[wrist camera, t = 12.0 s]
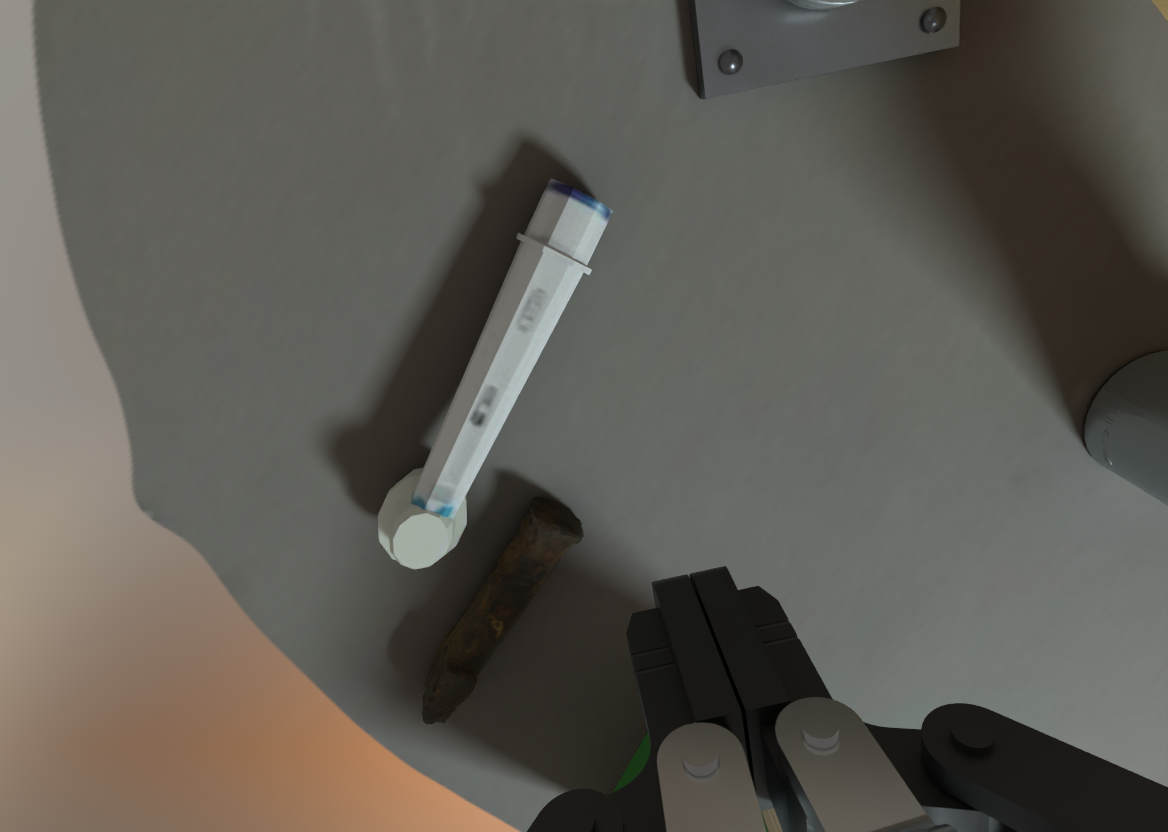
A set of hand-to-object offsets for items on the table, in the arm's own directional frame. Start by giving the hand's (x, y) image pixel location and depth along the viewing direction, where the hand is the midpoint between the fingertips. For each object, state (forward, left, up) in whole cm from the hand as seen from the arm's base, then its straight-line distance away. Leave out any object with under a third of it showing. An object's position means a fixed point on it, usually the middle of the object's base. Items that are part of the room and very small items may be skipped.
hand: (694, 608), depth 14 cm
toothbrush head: (+6, +5, -32) cm, 33 cm away
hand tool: (+10, +22, -32) cm, 40 cm away
